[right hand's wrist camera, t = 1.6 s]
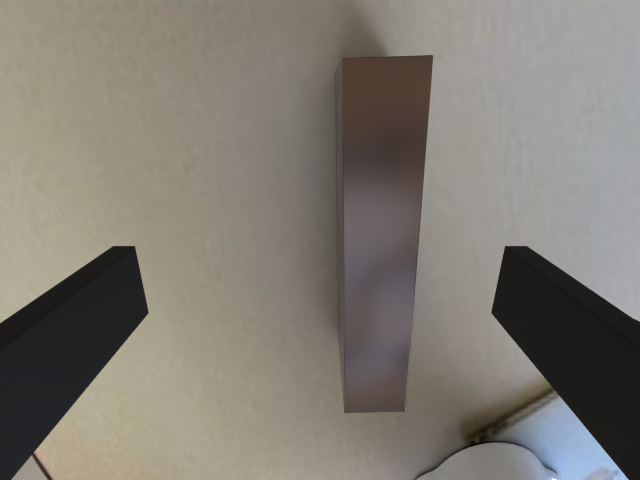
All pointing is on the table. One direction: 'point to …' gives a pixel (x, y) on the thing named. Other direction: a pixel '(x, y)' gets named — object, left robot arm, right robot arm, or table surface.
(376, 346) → the plank
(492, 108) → the table surface
